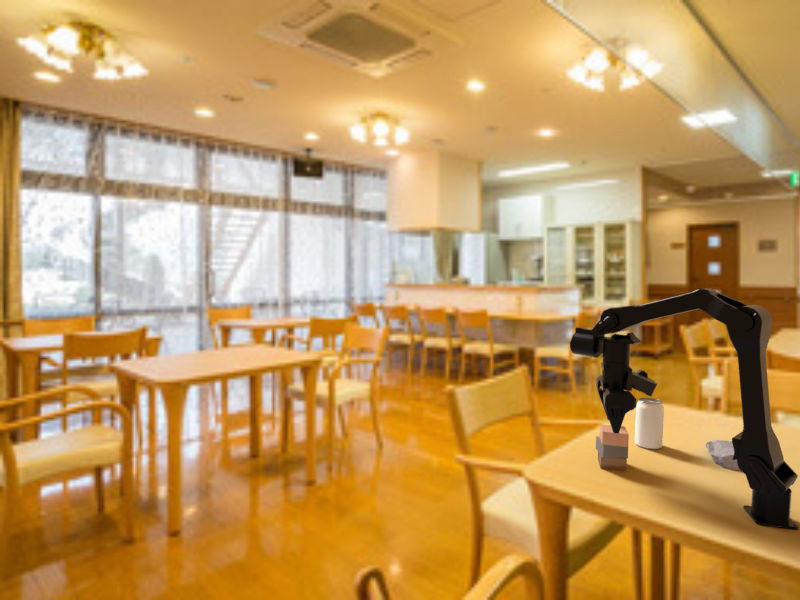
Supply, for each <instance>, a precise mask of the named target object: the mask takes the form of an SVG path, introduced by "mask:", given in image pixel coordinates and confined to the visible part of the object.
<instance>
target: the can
mask: <svg viewBox="0 0 800 600" xmlns="http://www.w3.org/2000/svg"><path fill="white" fill-rule="evenodd" d="M664 415H665V407H664V405H663V400H660V399H657V398H653V397H639V398H638V401H637V402H636V408H635V426H634V443H635V445H636V446H638V447H639V448H643V449H646V450H659V449H661V448H662V447H663V439H664V419H665V416H664Z"/></svg>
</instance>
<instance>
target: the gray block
mask: <svg viewBox="0 0 800 600" xmlns="http://www.w3.org/2000/svg"><path fill="white" fill-rule="evenodd" d="M595 449H596V451H597V453H598V452H599V453H600V454H601V456H602V457H603V458H624V459H627V460H628V459H629V446H628V447H622V446H612V445H603V444H602V442H601V440H600V437H599V435H598V436H595Z"/></svg>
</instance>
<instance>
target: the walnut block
mask: <svg viewBox="0 0 800 600" xmlns="http://www.w3.org/2000/svg"><path fill="white" fill-rule="evenodd" d="M597 461H598V464H599V468H600V469H604V470H610V471H620V472H627V467H628V466H627V463H628V459H624V458H603V457H602V456H601V454H600V453H599V452H598V451H597Z"/></svg>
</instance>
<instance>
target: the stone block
mask: <svg viewBox="0 0 800 600" xmlns="http://www.w3.org/2000/svg"><path fill="white" fill-rule="evenodd" d="M705 448H706V449H707V452H708V453H709V454H710V456H711V458H712V460H713V461H714V463H715V464H716V465H719V466H721V467H722V468H725V469H728V470H734V471H741V470H740V469H739V467H738V464H737V459H736V460H733V456H734V447H733V444H732V440H727V439H725V440H724V439H716V440H712V441H711V440H710V441H707V442H705Z"/></svg>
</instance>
